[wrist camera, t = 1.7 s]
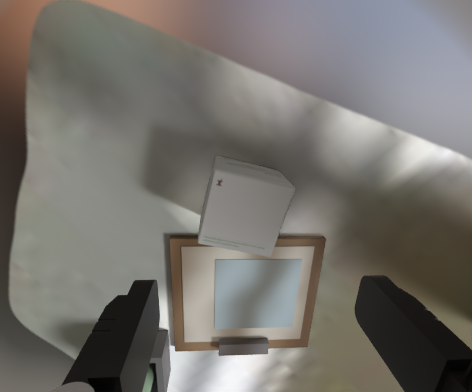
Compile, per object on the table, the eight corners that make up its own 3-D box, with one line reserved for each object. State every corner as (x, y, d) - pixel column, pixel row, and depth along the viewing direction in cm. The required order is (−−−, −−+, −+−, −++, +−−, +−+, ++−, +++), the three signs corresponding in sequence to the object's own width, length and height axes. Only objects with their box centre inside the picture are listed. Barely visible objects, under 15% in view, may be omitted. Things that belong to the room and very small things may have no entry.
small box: (200, 216, 22) (194, 245, 17) (215, 153, 20) (213, 165, 15) (261, 230, 23) (272, 260, 18) (281, 169, 21) (299, 186, 16)
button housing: (168, 330, 25) (161, 357, 23) (170, 370, 27) (165, 400, 24) (111, 331, 25) (97, 360, 22) (117, 372, 27) (105, 403, 24)
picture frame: (323, 236, 23) (329, 243, 22) (305, 342, 27) (310, 353, 26) (170, 236, 22) (167, 243, 21) (175, 347, 26) (173, 358, 25)
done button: (155, 351, 24) (143, 395, 20) (157, 377, 25) (147, 424, 22) (117, 352, 24) (98, 397, 20) (121, 379, 25) (103, 426, 21)
